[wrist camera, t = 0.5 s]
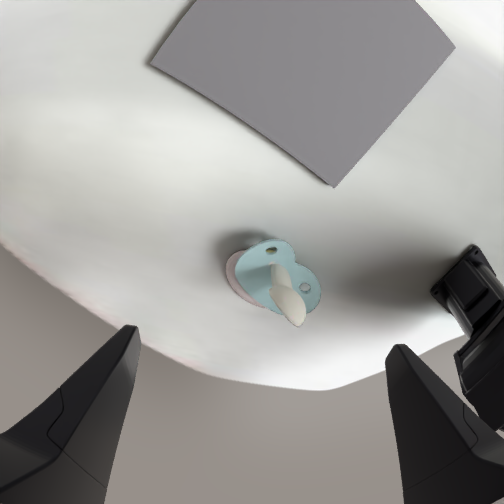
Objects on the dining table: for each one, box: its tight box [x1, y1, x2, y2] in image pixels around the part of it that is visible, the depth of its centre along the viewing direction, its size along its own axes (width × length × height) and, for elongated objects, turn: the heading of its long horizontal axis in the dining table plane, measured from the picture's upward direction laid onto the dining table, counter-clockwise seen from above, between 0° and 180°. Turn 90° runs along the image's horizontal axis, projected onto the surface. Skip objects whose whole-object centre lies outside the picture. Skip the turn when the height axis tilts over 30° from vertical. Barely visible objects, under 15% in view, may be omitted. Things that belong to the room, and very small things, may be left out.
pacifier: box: [226, 239, 321, 327], centre depth 21 cm, size 7×6×6 cm
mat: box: [150, 0, 456, 188], centre depth 14 cm, size 14×14×1 cm
